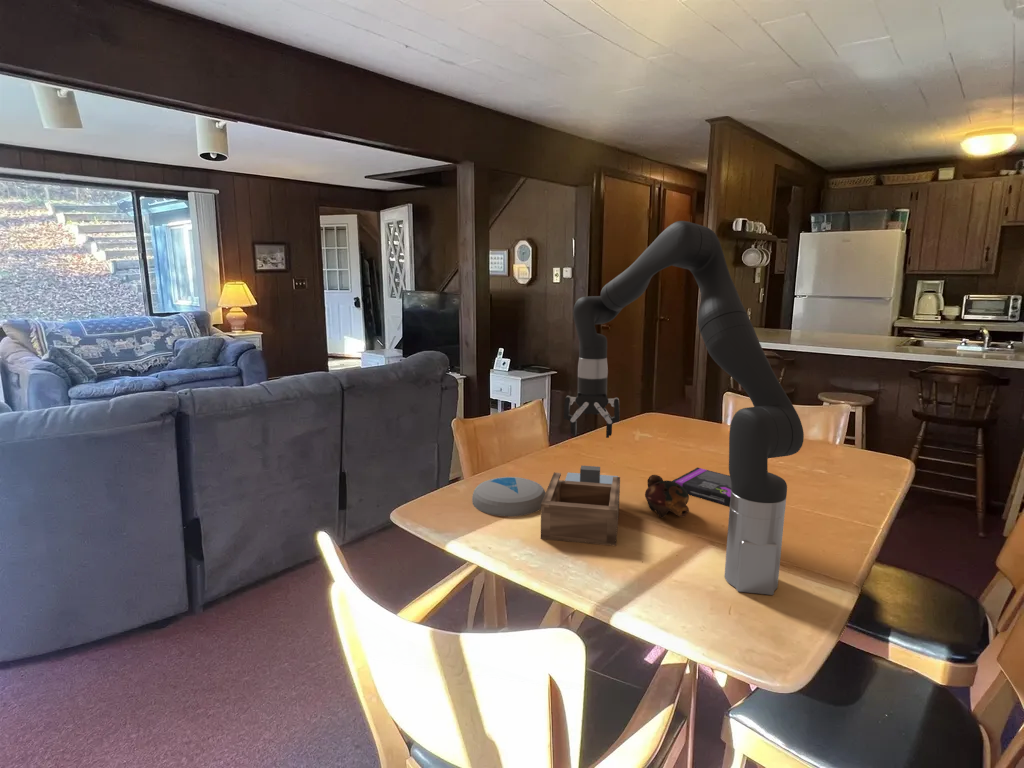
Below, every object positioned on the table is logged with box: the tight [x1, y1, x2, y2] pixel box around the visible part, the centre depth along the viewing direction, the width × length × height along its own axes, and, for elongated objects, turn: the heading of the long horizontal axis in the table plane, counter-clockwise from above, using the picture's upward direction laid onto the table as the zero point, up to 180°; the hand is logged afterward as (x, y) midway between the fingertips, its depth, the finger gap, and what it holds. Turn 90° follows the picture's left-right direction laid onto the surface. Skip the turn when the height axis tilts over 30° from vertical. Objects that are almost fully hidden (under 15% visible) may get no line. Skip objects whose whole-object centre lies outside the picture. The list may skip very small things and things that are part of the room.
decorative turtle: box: [644, 474, 690, 518], centre depth 138 cm, size 10×15×8 cm, turn 21°
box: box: [672, 467, 731, 508], centre depth 151 cm, size 14×4×20 cm
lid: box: [564, 465, 619, 484], centre depth 155 cm, size 18×14×6 cm
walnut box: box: [540, 472, 621, 547], centre depth 133 cm, size 20×16×8 cm
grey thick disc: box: [471, 476, 546, 517], centre depth 146 cm, size 18×18×5 cm
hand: (591, 436), depth 152 cm, fingers open, 8 cm apart
